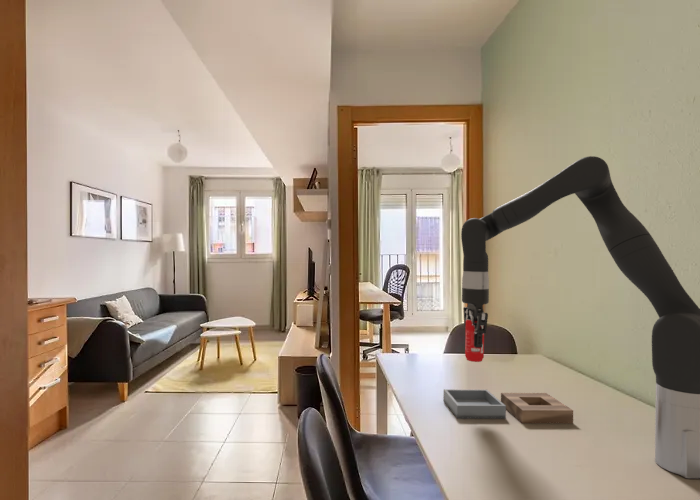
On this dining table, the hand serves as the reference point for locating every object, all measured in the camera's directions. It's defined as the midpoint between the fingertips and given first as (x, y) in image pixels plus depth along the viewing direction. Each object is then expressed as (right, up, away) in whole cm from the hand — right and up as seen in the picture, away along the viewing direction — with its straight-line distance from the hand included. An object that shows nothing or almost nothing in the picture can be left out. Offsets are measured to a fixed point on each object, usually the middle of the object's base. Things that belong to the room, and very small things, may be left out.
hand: (474, 344), depth 120 cm
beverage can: (0, -5, 0) cm, 5 cm away
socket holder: (+17, -19, -2) cm, 25 cm away
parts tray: (-1, -19, 0) cm, 19 cm away
